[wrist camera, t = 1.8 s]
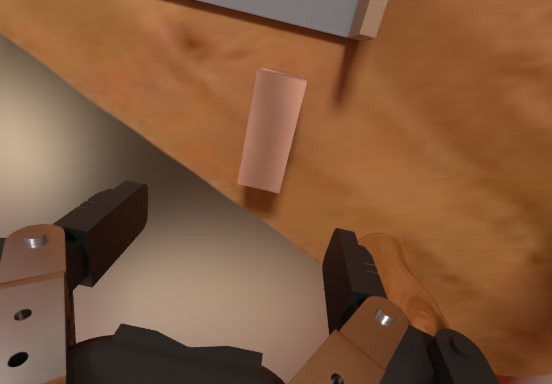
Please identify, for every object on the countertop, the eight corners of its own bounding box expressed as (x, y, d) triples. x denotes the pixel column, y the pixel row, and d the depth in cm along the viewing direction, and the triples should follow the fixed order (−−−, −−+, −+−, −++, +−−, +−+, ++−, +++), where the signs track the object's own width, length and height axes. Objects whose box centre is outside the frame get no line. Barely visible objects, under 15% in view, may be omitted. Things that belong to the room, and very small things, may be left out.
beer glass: (409, 267, 37) (473, 391, 23) (355, 279, 38) (385, 402, 25) (399, 223, 34) (465, 335, 20) (341, 237, 35) (368, 351, 22)
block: (305, 76, 28) (306, 82, 22) (282, 170, 32) (279, 193, 27) (265, 67, 28) (257, 70, 22) (247, 161, 32) (237, 183, 27)
